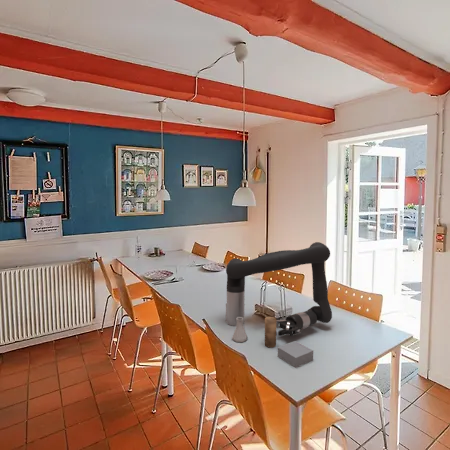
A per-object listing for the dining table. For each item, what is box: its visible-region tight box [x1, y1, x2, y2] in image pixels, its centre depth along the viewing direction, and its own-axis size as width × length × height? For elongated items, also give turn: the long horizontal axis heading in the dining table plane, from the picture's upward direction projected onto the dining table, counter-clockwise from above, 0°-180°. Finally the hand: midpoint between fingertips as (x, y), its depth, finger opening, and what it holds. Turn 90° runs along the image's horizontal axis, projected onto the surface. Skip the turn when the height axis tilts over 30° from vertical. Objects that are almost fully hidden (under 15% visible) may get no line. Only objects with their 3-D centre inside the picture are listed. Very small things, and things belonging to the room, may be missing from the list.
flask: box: [231, 317, 249, 343], centre depth 144 cm, size 7×7×10 cm
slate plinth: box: [277, 340, 314, 369], centre depth 127 cm, size 10×10×4 cm
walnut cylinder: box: [264, 316, 277, 349], centre depth 138 cm, size 5×5×12 cm
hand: (272, 330), depth 139 cm, fingers open, 8 cm apart
